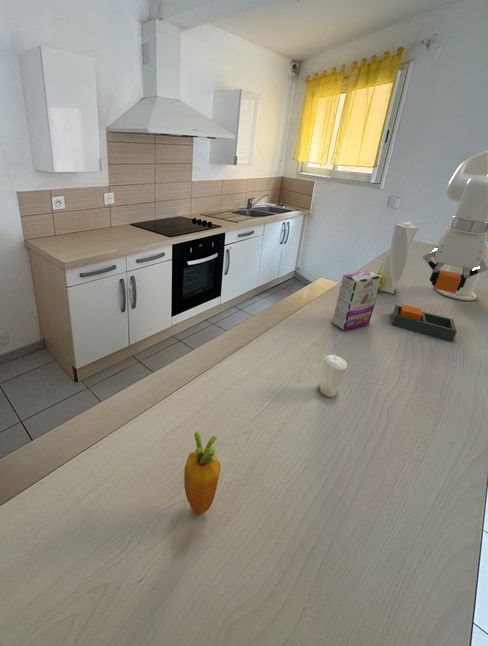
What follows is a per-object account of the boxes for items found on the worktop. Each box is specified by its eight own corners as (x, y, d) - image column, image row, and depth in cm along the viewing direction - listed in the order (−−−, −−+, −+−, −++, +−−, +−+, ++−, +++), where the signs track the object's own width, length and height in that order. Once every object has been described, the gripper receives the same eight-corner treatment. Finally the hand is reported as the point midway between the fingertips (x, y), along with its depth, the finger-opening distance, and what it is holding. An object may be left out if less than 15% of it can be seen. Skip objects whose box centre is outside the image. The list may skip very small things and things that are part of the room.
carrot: (180, 496, 50) (184, 425, 44) (212, 495, 50) (220, 424, 44) (182, 533, 45) (187, 459, 39) (217, 530, 46) (227, 457, 40)
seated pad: (398, 316, 105) (402, 304, 103) (416, 321, 102) (421, 308, 100) (398, 323, 101) (402, 310, 99) (417, 328, 98) (422, 315, 96)
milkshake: (337, 385, 74) (347, 349, 70) (339, 401, 69) (350, 364, 66) (316, 380, 75) (325, 344, 72) (316, 396, 71) (326, 359, 67)
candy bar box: (355, 316, 104) (369, 269, 98) (369, 324, 100) (384, 276, 94) (330, 322, 100) (342, 274, 93) (343, 331, 96) (357, 281, 89)
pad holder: (392, 314, 107) (395, 305, 105) (448, 328, 100) (453, 319, 98) (392, 325, 100) (395, 315, 99) (452, 341, 93) (456, 331, 92)
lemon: (377, 289, 125) (383, 270, 122) (384, 295, 120) (390, 276, 116) (363, 288, 125) (368, 269, 122) (369, 294, 120) (374, 274, 117)
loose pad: (432, 282, 98) (437, 269, 96) (453, 287, 95) (458, 273, 94) (434, 288, 94) (439, 274, 92) (455, 293, 91) (461, 278, 90)
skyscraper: (398, 289, 126) (422, 218, 115) (398, 296, 119) (423, 222, 108) (374, 283, 130) (395, 214, 119) (372, 290, 123) (394, 218, 112)
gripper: (506, 228, 86) (479, 289, 93) (429, 218, 94) (410, 275, 101) (514, 234, 80) (484, 299, 87) (431, 222, 88) (410, 283, 95)
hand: (444, 285), depth 94 cm, fingers closed on loose pad, 5 cm apart
